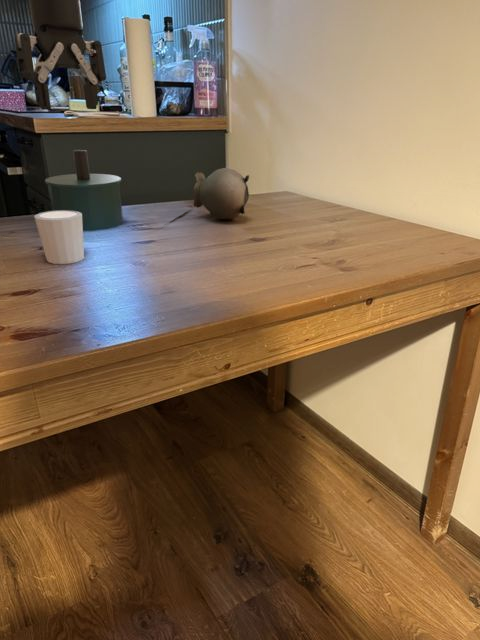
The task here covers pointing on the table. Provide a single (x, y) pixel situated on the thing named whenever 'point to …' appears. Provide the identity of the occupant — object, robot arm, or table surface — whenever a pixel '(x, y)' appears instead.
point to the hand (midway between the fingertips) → (69, 109)
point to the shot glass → (61, 236)
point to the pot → (90, 205)
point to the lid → (82, 175)
